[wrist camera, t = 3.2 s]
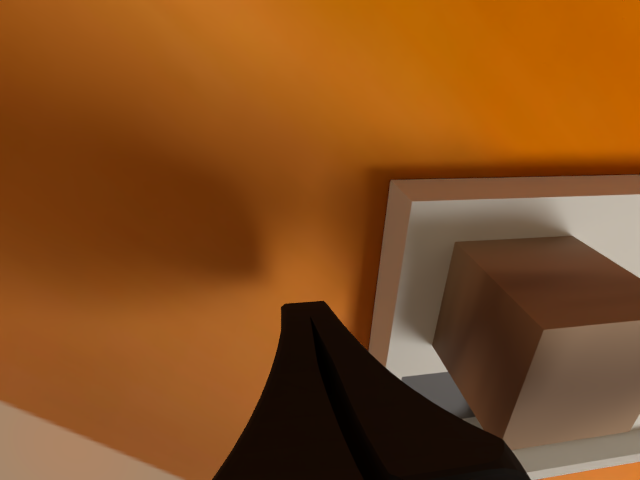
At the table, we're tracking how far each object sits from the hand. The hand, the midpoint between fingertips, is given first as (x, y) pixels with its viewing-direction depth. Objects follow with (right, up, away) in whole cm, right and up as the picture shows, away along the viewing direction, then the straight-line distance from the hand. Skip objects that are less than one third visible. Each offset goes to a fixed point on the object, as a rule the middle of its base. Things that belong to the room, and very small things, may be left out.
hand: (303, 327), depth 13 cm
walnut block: (+7, +1, +2) cm, 7 cm away
